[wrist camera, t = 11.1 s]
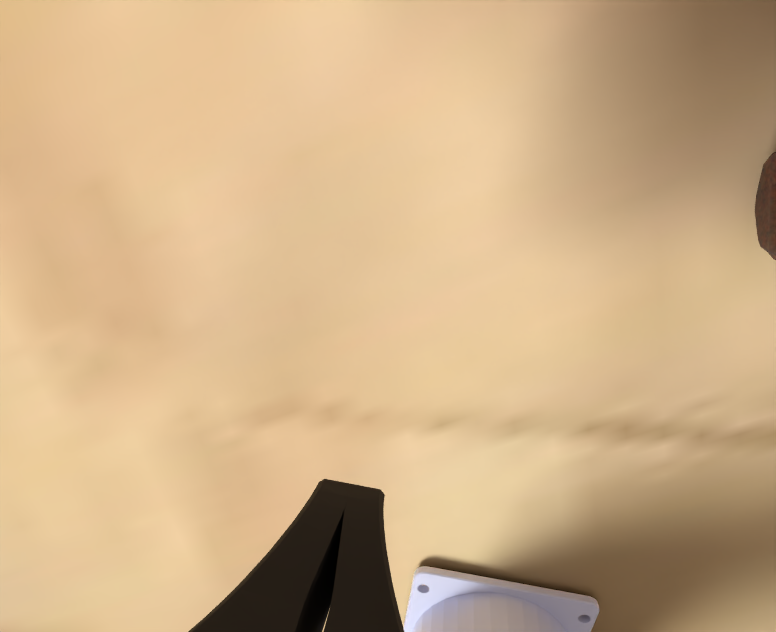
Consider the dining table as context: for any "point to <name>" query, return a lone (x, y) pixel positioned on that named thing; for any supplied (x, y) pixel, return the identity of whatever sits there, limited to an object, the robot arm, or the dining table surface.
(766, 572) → the dining table surface
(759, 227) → the bolt
